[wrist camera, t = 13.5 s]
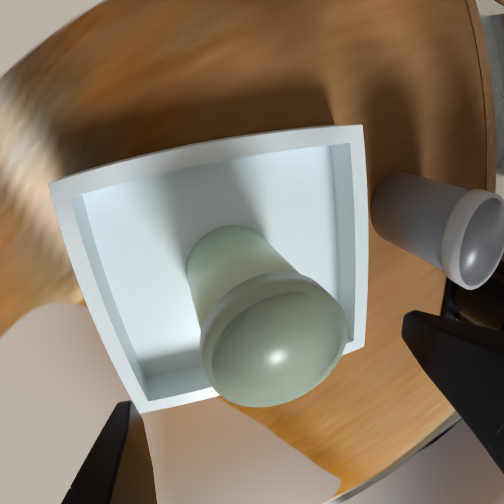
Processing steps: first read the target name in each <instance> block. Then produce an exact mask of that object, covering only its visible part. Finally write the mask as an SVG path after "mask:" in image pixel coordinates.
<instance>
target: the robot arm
mask: <svg viewBox="0 0 504 504" xmlns="http://www.w3.org/2000/svg"><path fill="white" fill-rule="evenodd" d="M456 319H457V320H456ZM458 320H459V321H458ZM402 338H403V340H404V342H405V343H406V345H407V346H408V347H409V349H410V350H411V352H412V353H413V355H414V356H415V358H416V359H417V361H418V363H419V364H420V366H421V367H422V368H423V370H424V371H425V372H426V374H427V375H428V376H429V377H430V379H431V380H432V381H433V382H434V384H435V385H436V386H437V387H438V389H439V390H440V391H441V392H442V393H443V395H444V396H445V397H446V398H447V400H448V401H449V402H450V403H451V405H452V406H453V407H454V409H455V410H456V411H457V412H458V414H459V415H460V416H461V417H462V419H463V420H464V421H465V423H466V424H467V425H468V426H469V427H470V429H471V430H472V432H473V433H474V434H475V435H476V437H477V438H478V440H479V441H480V442H481V444H482V445H483V446H484V448H485V449H487V452H488V453H489V455H490V456H491V457H492V459H493V460H494V461H495V463H496V464H497V466H498V467H499V468H500V470H501V471H502V472H503V474H504V252H503V255H502V257H501V259H500V262H499V264H498V266H497V267H496V269H495V271H494V272H493V274H492V275H491V276H490V278H489V279H488V280H487V281H486V282H485V283H484V284H483V285H481V286H480V287H478V288H476V289H473V290H468V289H465V288H463V287H462V286H460V285H458V284H457V283H455V282H453V281H452V280H450V279H449V278H448V284H447V290H446V296H445V302H444V308H443V313H442V316H438V315H433V314H429V313H425V312H421V311H417V310H413V311H411V312H408V313H406V314H405V315H404V318H403V325H402ZM61 504H157V500H156V492H155V483H154V474H153V466H152V461H151V457H150V452H149V447H148V443H147V438H146V433H145V428H144V423H143V420H142V417H141V415H140V414H139V412H138V410H137V409H136V407H135V405H134V403H133V402H132V401H130V400H128V401H122V402H119V403H118V404H117V405H116V407H115V408H114V410H113V412H112V413H111V415H110V417H109V419H108V420H107V422H106V424H105V426H104V427H103V429H102V431H101V433H100V434H99V436H98V438H97V440H96V441H95V443H94V445H93V447H92V448H91V450H90V452H89V454H88V456H87V458H86V459H85V461H84V463H83V465H82V466H81V468H80V470H79V472H78V474H77V475H76V478H75V479H74V481H73V483H72V485H71V489H69V490H68V492H67V494H66V496H65V497H64V499H63V501H62V503H61Z"/></svg>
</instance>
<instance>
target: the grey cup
mask: <svg viewBox="0 0 504 504" xmlns="http://www.w3.org/2000/svg"><path fill="white" fill-rule="evenodd" d="M371 220H372V224H373V227H374V229H375V231H376V232H377V234H378V235H379V236H380V237H382V238H383V239H385V240H387V241H389V242H391V243H393V244H395V245H397V246H399V247H400V248H402V249H404V250H406V251H408V252H410V253H412V254H413V255H415V256H417V257H419V258H421V259H423V260H424V261H426V262H428V263H430V264H432V265H433V266H435V267H437V268H439V269H441V270H442V271H444V273H445V274H446V276H447V277H448V278H449V279H450V280H452V281H453V282H455V283H457V284H458V285H460V286H462V287H463V288H465V289H468V290H473V289H476V288H478V287H480V286H481V285H483V284H484V283H485V282H486V281H487V280H488V279H489V278H490V276H491V275H492V274H493V272H494V271H495V269H496V267H497V266H498V264H499V262H500V259H501V257H502V255H503V252H504V200H503V198H502V197H501V196H500V195H498V194H496V193H492V192H489V191H486V190H482V189H473V190H468V189H465V188H462V187H458V186H455V185H451V184H447V183H444V182H440V181H436V180H432V179H428V178H424V177H420V176H416V175H412V174H408V173H404V172H397V173H393V174H391V175H389V176H387V177H386V178H385V179H384V180H383V181H382V182H381V183H380V185H379V186H378V188H377V189H376V191H375V194H374V196H373V199H372V204H371Z"/></svg>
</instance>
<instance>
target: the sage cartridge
mask: <svg viewBox="0 0 504 504" xmlns="http://www.w3.org/2000/svg"><path fill="white" fill-rule="evenodd" d="M186 274H187V280H188V284H189V288H190V292H191V296H192V300H193V304H194V308H195V311H196V315H197V319H198V323H199V327H200V330H201V334H200V352H201V356H202V360H203V364H204V368H205V371H206V375H207V378H208V380H209V382H210V384H211V386H212V387H213V389H214V390H215V391H216V392H217V393H218V394H219V395H221V396H222V397H223V398H225V399H226V400H228V401H230V402H233V403H235V404H238V405H242V406H248V407H268V406H274V405H279V404H283V403H286V402H289V401H291V400H294V399H296V398H298V397H300V396H302V395H304V394H305V393H307V392H309V391H310V390H312V389H313V388H314V387H316V386H317V385H318V384H319V383H321V382H322V381H323V380H324V379H325V378H326V377H327V376H328V375H329V374H330V372H331V371H332V370H333V369H334V367H335V366H336V364H337V363H338V361H339V359H340V358H341V356H342V354H343V351H344V348H345V345H346V341H347V335H348V323H347V319H346V315H345V313H344V310H343V309H342V307H341V305H340V304H339V303H338V302H337V301H336V299H335V298H334V297H332V296H331V295H330V294H329V293H328V292H327V291H326V290H325V289H324V288H323V287H322V286H321V285H320V284H318V283H317V282H316V281H314V280H313V279H311V278H309V277H307V276H304V275H301V274H300V273H299V272H298V271H297V270H296V269H295V268H294V267H293V266H292V265H291V264H290V263H289V262H288V261H287V260H286V259H285V258H284V257H283V256H282V255H280V254H279V253H278V252H277V251H276V250H275V249H274V248H273V247H272V246H271V245H270V244H269V243H268V242H267V241H266V240H265V239H264V238H263V237H262V236H261V235H260V234H258V233H257V232H256V231H254V230H252V229H250V228H247V227H243V226H237V225H230V226H223V227H220V228H217V229H214V230H212V231H210V232H209V233H207V234H205V235H204V236H203V237H202V238H201V239H200V240H199V241H198V242H197V243H196V244H195V245H194V247H193V249H192V250H191V252H190V254H189V257H188V261H187V266H186Z"/></svg>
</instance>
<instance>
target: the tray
mask: <svg viewBox="0 0 504 504" xmlns="http://www.w3.org/2000/svg"><path fill="white" fill-rule="evenodd" d="M49 188H50V192H51V196H52V200H53V204H54V208H55V211H56V215H57V219H58V222H59V226H60V229H61V232H62V236H63V239H64V242H65V245H66V248H67V251H68V255H69V258H70V260H71V263H72V266H73V269H74V272H75V275H76V278H77V280H78V283H79V286H80V288H81V291H82V294H83V296H84V299H85V301H86V304H87V306H88V309H89V311H90V314H91V316H92V318H93V321H94V323H95V325H96V328H97V330H98V332H99V334H100V337H101V339H102V341H103V343H104V346H105V348H106V350H107V352H108V354H109V356H110V358H111V360H112V362H113V364H114V366H115V368H116V370H117V372H118V374H119V376H120V378H121V380H122V382H123V384H124V386H125V388H126V390H127V392H128V393H129V395H130V397H131V399H132V401H133V403H134V404H135V406H136V408H137V410H138V411H139V413H144V412H149V411H155V410H159V409H164V408H169V407H174V406H178V405H182V404H187V403H191V402H196V401H200V400H204V399H207V398H212V397H216V396H219V394H218V393H217V392H216V391H215V390H214V389H213V387H212V386H211V384H210V382H209V380H208V378H207V375H206V371H205V368H204V364H203V360H202V356H201V352H200V334H201V330H200V327H199V323H198V319H197V315H196V311H195V308H194V304H193V300H192V296H191V292H190V288H189V284H188V280H187V274H186V266H187V261H188V257H189V254H190V252H191V250H192V249H193V247H194V245H195V244H196V243H197V242H198V241H199V240H200V239H201V238H202V237H203V236H204V235H205V234H207V233H209V232H210V231H212V230H214V229H217V228H220V227H223V226H230V225H237V226H243V227H247V228H250V229H252V230H254V231H256V232H257V233H258V234H260V235H261V236H262V237H263V238H264V239H265V240H266V241H267V242H268V243H269V244H270V245H271V246H272V247H273V248H274V249H275V250H276V251H277V252H278V253H279V254H280V255H282V256H283V257H284V258H285V259H286V260H287V261H288V262H289V263H290V264H291V265H292V266H293V267H294V268H295V269H296V270H297V271H298V272H299V273H300V274H301V275H304V276H307V277H309V278H311V279H313V280H314V281H316V282H317V283H318V284H320V285H321V286H322V287H323V288H324V289H325V290H326V291H327V292H328V293H329V294H330V295H331V296H332V297H334V298H335V299H336V301H337V302H338V303H339V304H340V305H341V307H342V309H343V310H344V313H345V315H346V319H347V323H348V335H347V341H346V345H345V348H344V351H343V354H342V355H344V354H347V353H349V352H352V351H354V350H357V349H359V348H362V347H364V342H365V328H366V312H367V290H368V200H367V178H366V161H365V148H364V136H363V125H323V126H312V127H302V128H293V129H284V130H276V131H268V132H260V133H253V134H246V135H240V136H233V137H227V138H221V139H216V140H210V141H204V142H199V143H194V144H189V145H184V146H179V147H174V148H169V149H165V150H160V151H156V152H151V153H147V154H143V155H139V156H135V157H131V158H127V159H123V160H119V161H115V162H111V163H108V164H104V165H100V166H97V167H93V168H90V169H86V170H83V171H80V172H76V173H73V174H70V175H67V176H64V177H62V178H60V179H57V180H55V181H53V182H51V183H49Z"/></svg>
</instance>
